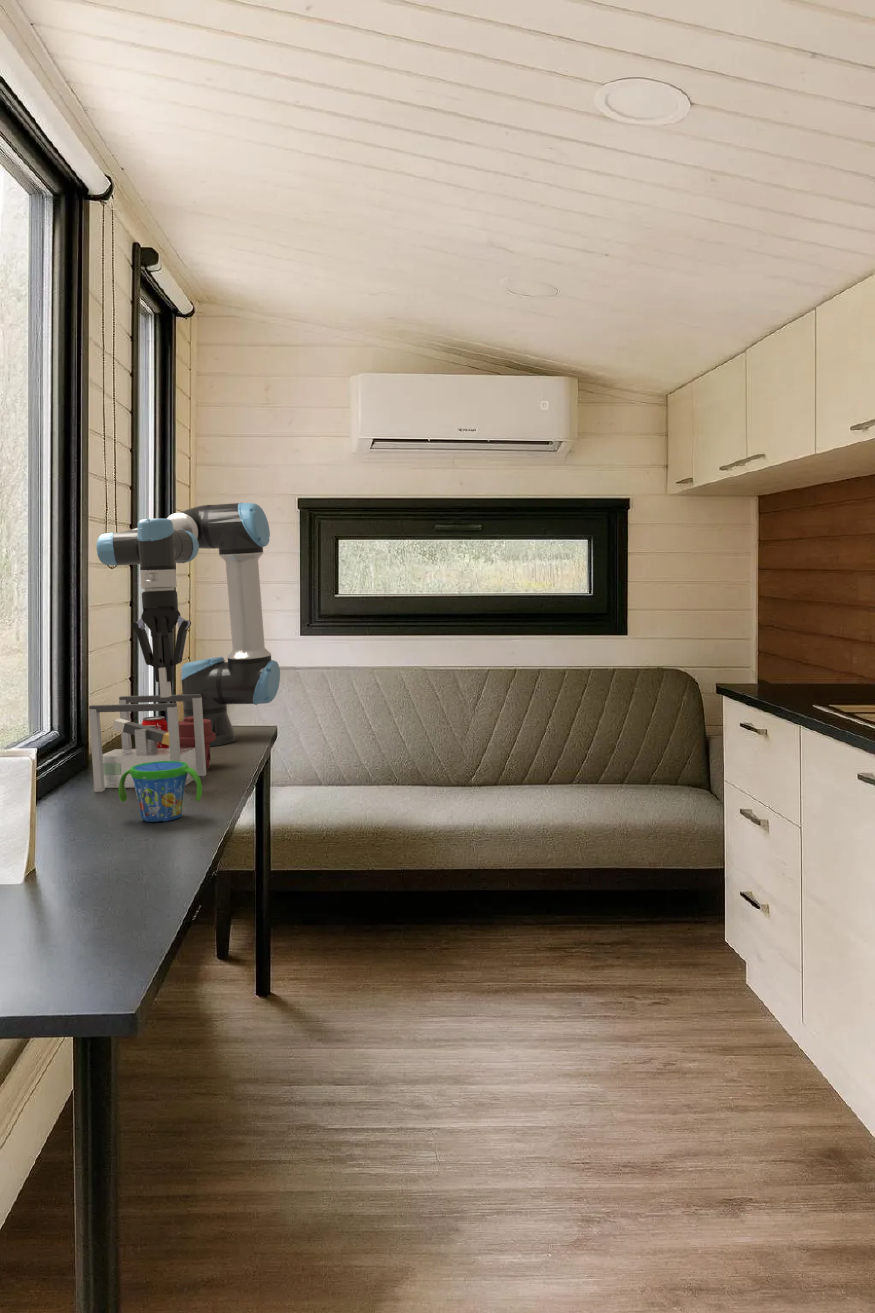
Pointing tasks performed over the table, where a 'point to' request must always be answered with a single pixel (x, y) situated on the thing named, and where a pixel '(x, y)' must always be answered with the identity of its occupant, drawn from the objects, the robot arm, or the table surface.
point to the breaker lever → (131, 727)
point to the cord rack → (126, 738)
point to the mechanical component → (189, 736)
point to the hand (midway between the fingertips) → (166, 696)
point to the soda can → (157, 726)
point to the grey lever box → (140, 759)
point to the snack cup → (160, 788)
